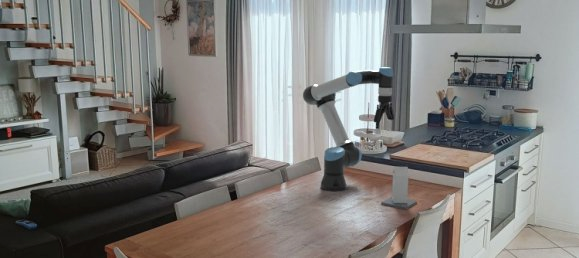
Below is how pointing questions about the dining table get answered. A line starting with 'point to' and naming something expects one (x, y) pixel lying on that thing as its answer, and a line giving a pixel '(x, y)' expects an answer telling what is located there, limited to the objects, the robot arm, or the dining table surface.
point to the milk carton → (400, 185)
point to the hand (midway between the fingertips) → (383, 132)
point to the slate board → (399, 205)
